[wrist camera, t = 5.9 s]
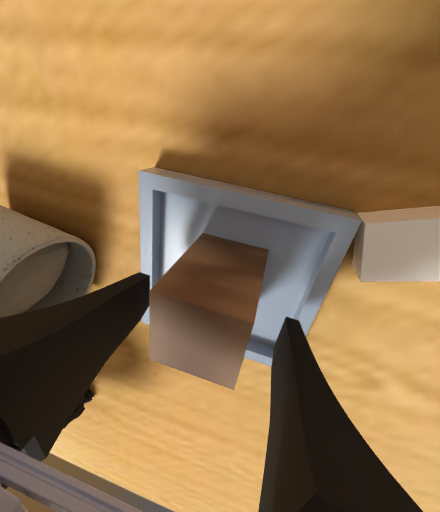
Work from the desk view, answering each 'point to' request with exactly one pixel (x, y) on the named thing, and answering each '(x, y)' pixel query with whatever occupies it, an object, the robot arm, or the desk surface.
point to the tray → (248, 242)
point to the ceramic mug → (40, 265)
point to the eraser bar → (398, 245)
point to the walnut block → (207, 308)
